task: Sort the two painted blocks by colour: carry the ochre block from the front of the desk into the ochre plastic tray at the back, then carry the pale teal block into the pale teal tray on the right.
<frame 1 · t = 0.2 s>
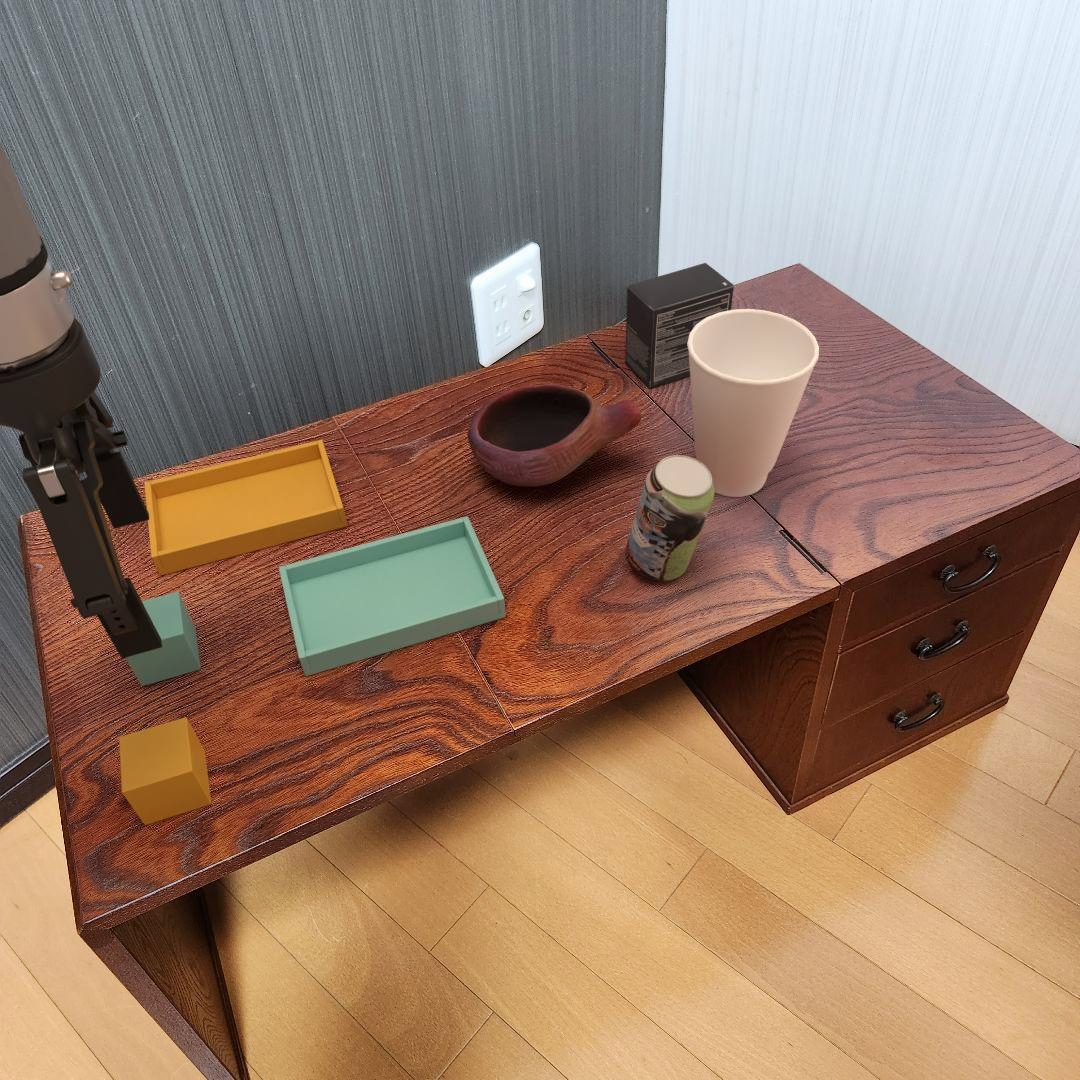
hand: (136, 581, 69), 14 cm above the table, tool pointing down, fingers open, 13 cm apart
ochre block: (175, 787, 73), on the table
small box: (674, 364, 110), on the table
teal tray: (393, 601, 85), on the table
bowl: (548, 462, 99), on the table
beverage can: (663, 566, 88), on the table
cup: (732, 475, 96), on the table
teal block: (169, 656, 82), on the table
ochre tray: (248, 513, 94), on the table
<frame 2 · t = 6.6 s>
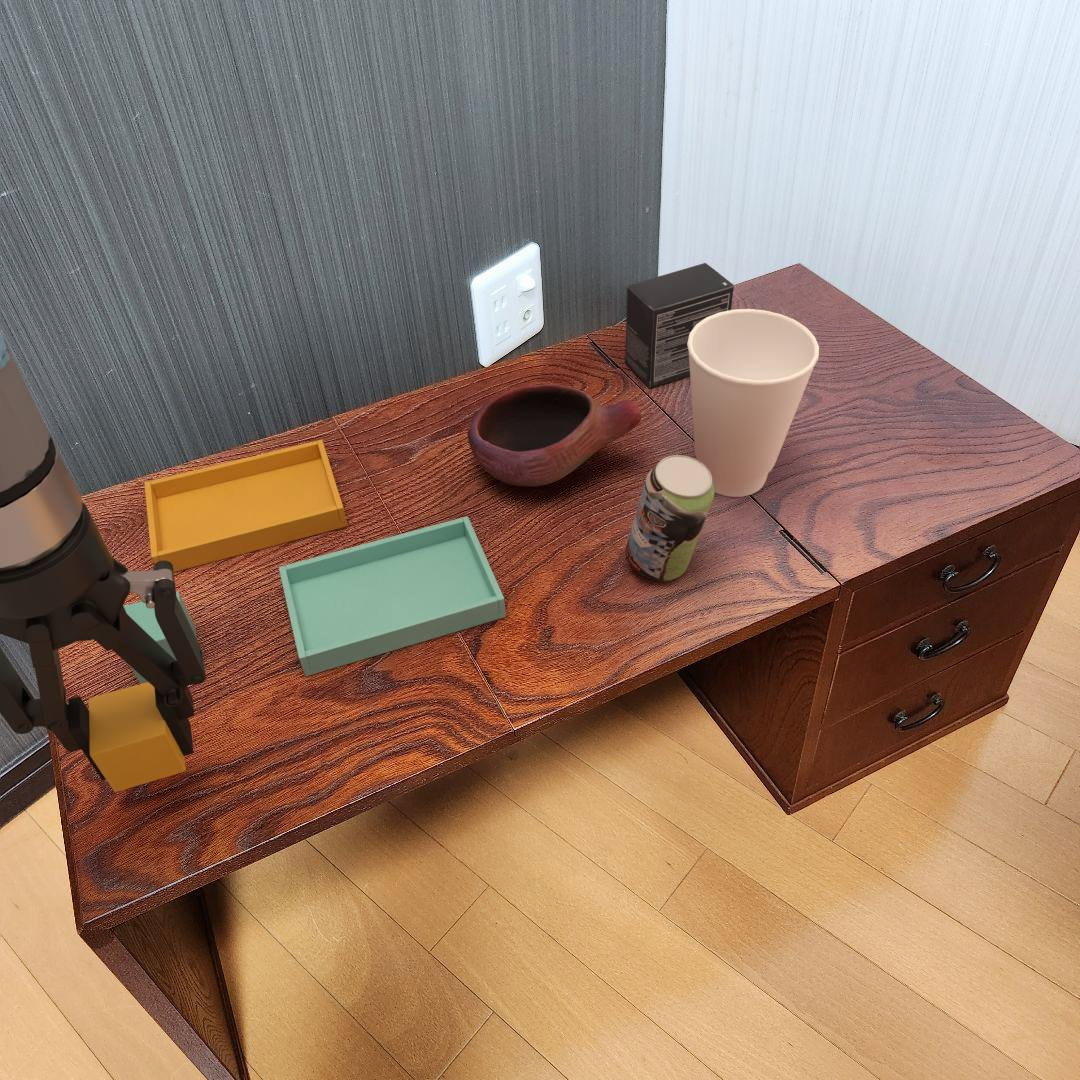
hand: (147, 751, 69), 6 cm above the table, tool pointing down, fingers closed on ochre block, 5 cm apart
ochre block: (148, 753, 69), point 5 cm above the table, touching gripper
everything else where it was.
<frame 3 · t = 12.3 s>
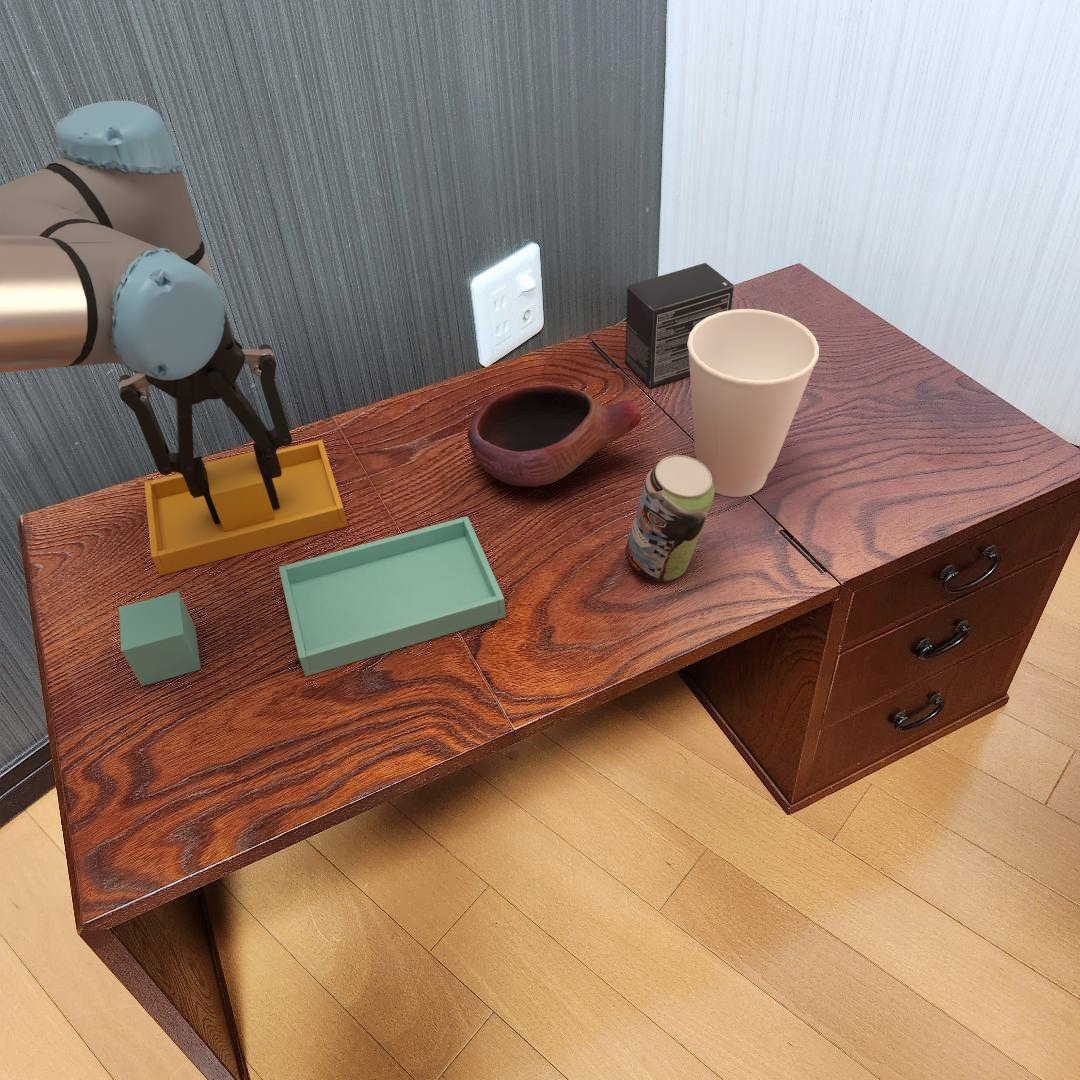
hand: (245, 507, 94), 1 cm above the table, tool pointing down, fingers closed on ochre block, 5 cm apart
ochre block: (246, 509, 94), point 1 cm above the table, touching gripper
everything else where it was.
when the fingers open (2 cm above the table, at t = 18.8 s): ochre block drops 1 cm, resting on ochre tray.
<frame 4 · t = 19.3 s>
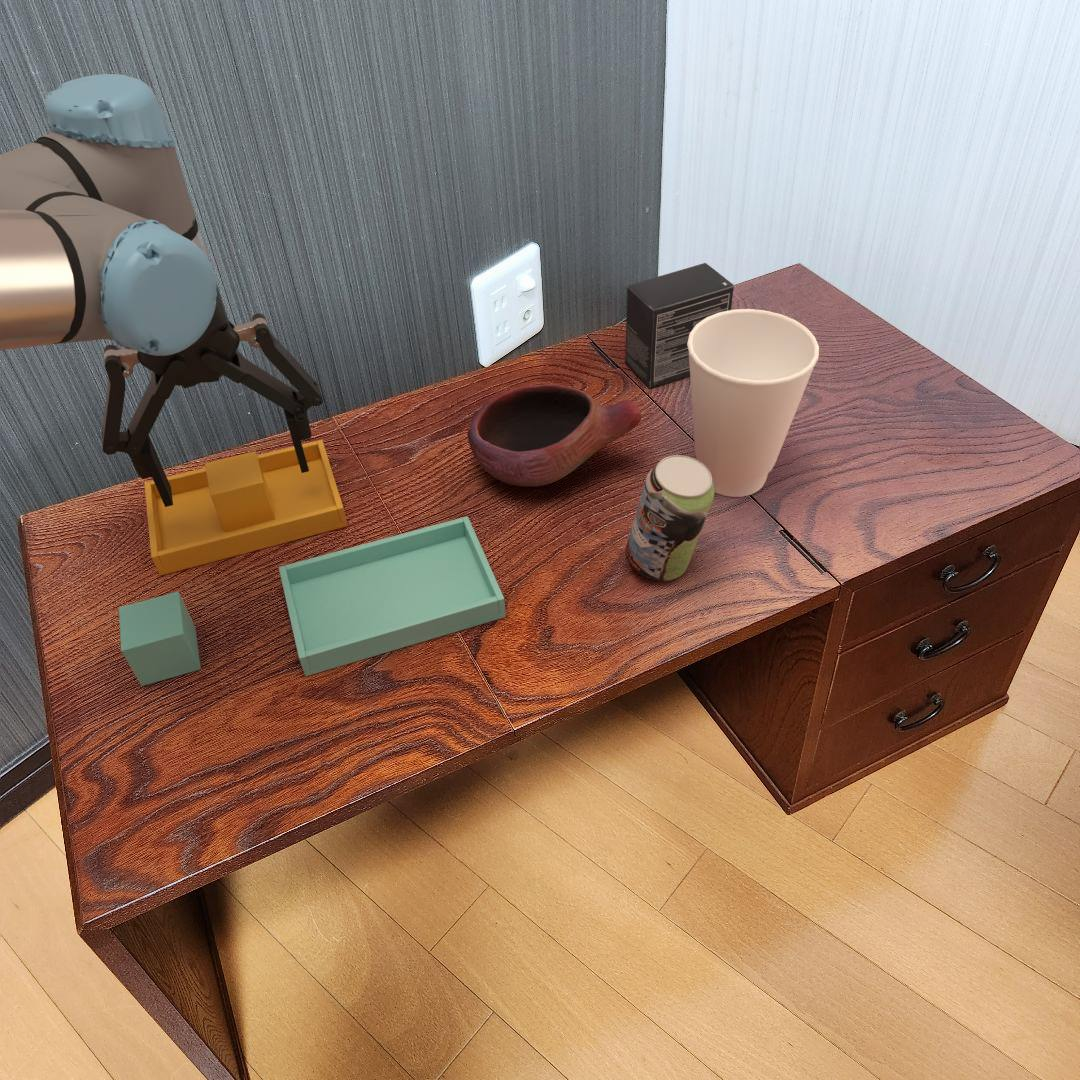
hand: (236, 480, 91), 4 cm above the table, tool pointing down, fingers open, 12 cm apart
ochre block: (246, 509, 94), point 1 cm above the table, touching ochre tray
everything else where it was.
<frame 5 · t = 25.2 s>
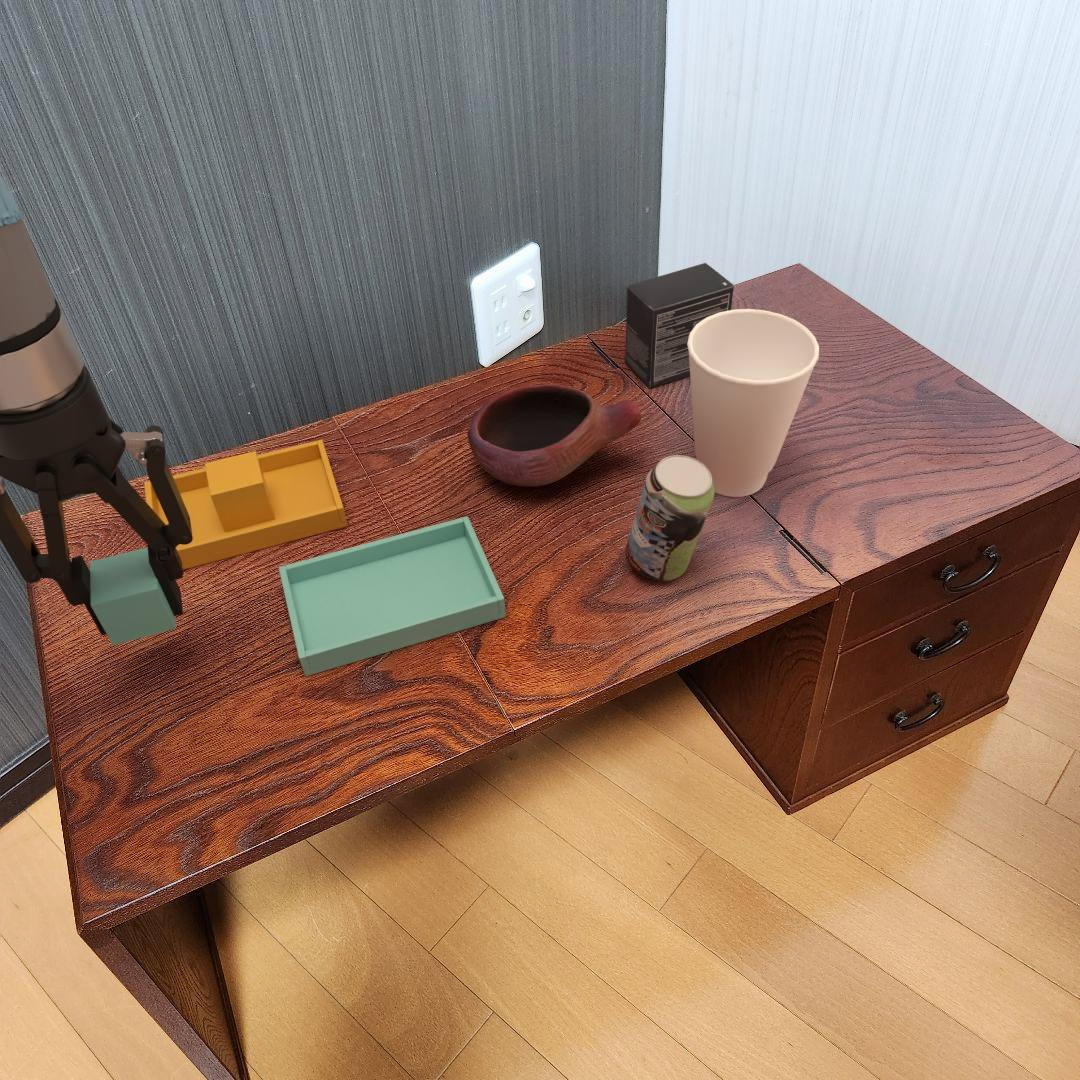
hand: (142, 612, 77), 6 cm above the table, tool pointing down, fingers closed on teal block, 5 cm apart
teal block: (143, 615, 77), point 6 cm above the table, touching gripper
everything else where it was.
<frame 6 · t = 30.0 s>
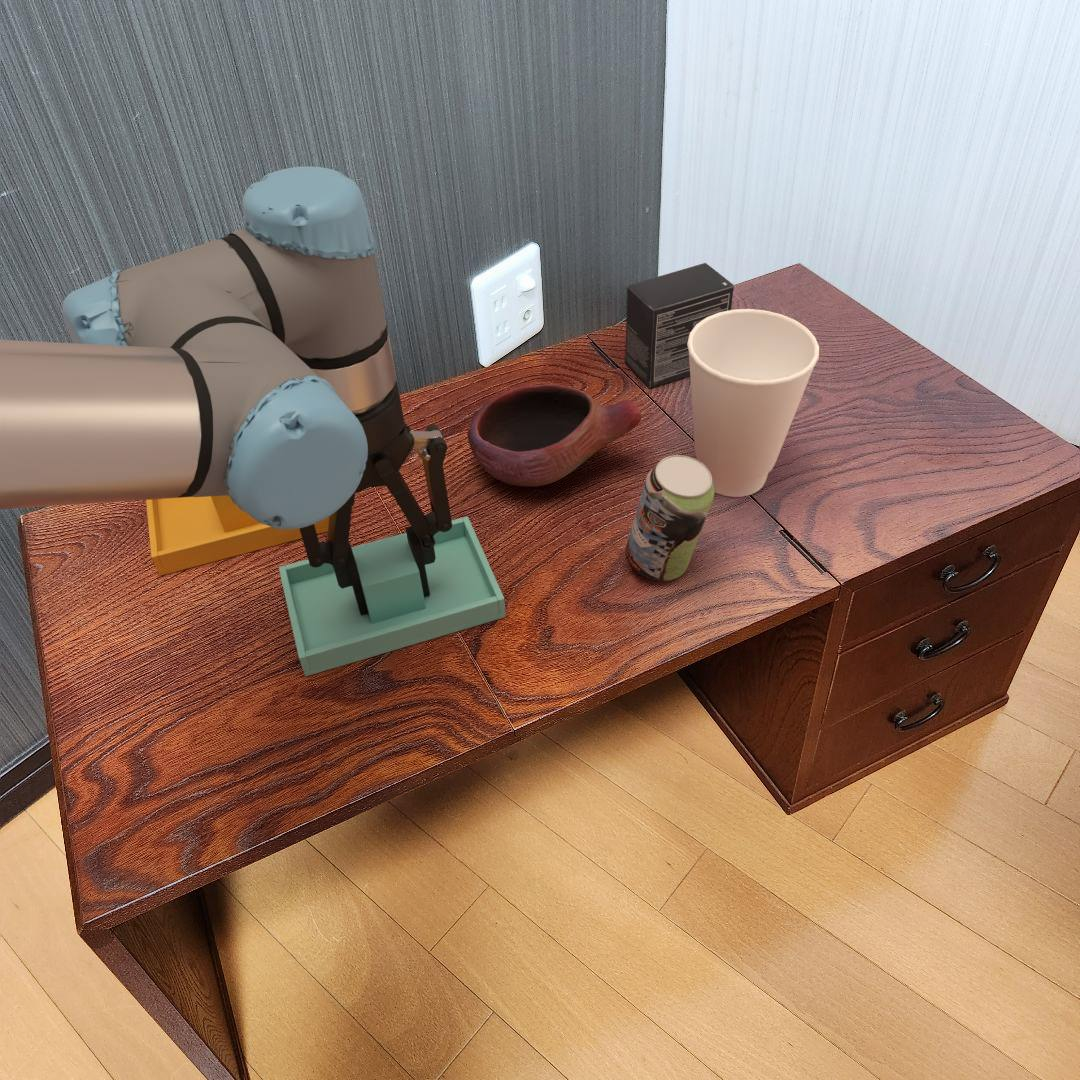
hand: (392, 594, 85), 1 cm above the table, tool pointing down, fingers closed on teal block, 5 cm apart
teal block: (392, 596, 85), point 1 cm above the table, touching gripper
everything else where it was.
when the fingers open (2 cm above the table, at t = 36.6 s): teal block drops 1 cm, resting on teal tray.
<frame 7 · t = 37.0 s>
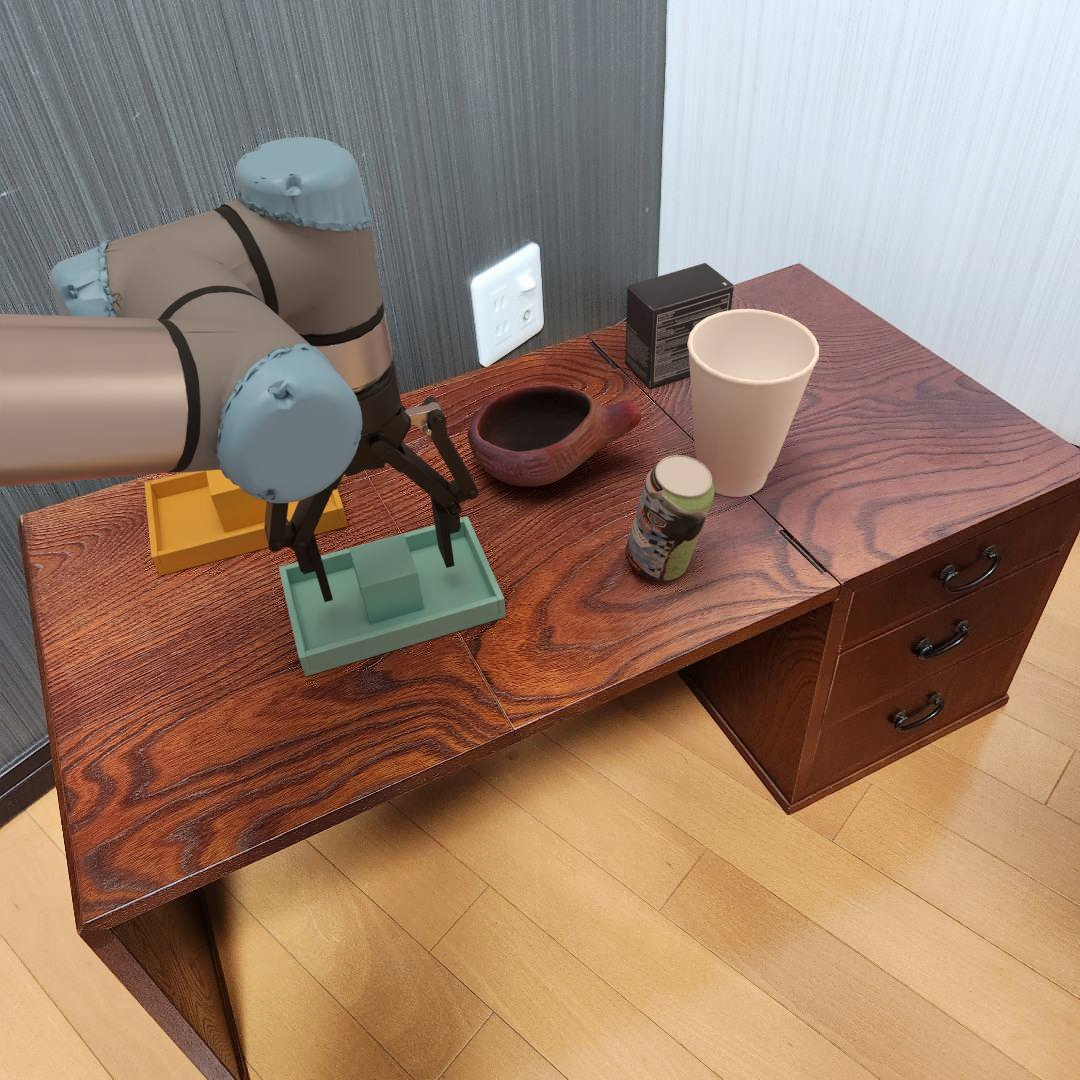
hand: (387, 573, 83), 4 cm above the table, tool pointing down, fingers open, 10 cm apart
teal block: (391, 597, 85), point 1 cm above the table, touching teal tray
everything else where it was.
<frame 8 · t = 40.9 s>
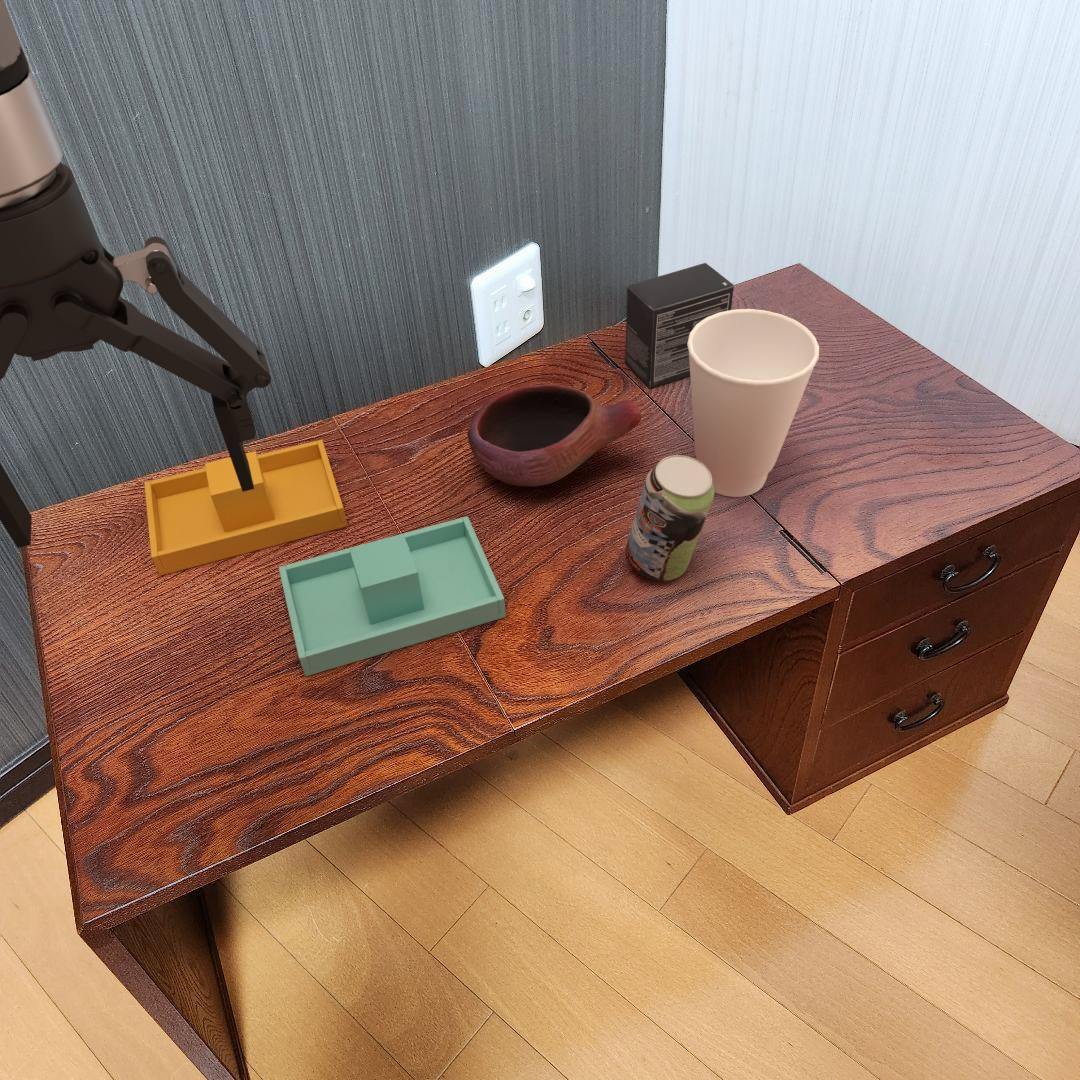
hand: (138, 504, 59), 25 cm above the table, tool pointing down, fingers open, 13 cm apart
nothing on the table moved.
at the end: ochre block inside the target area in the ochre tray (0.0 cm from its centre), point 0.6 cm above the ochre tray's base; teal block inside the target area in the teal tray (0.1 cm from its centre), point 0.6 cm above the teal tray's base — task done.
